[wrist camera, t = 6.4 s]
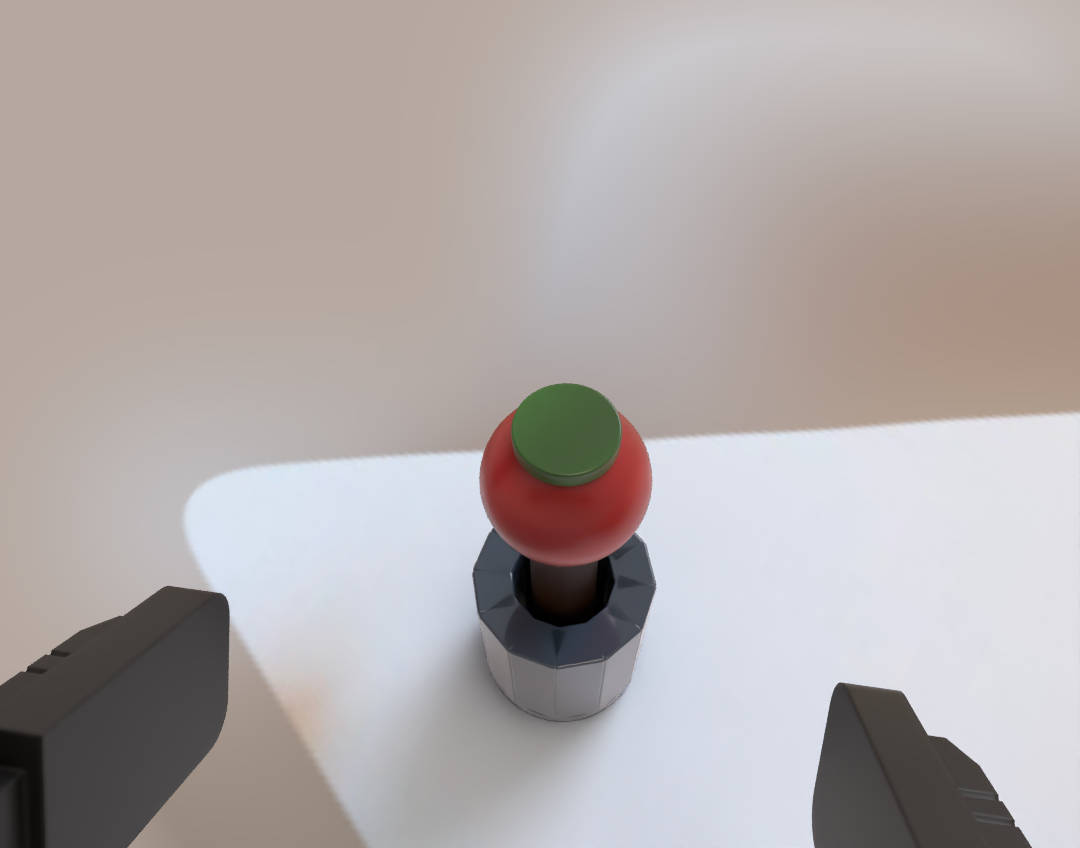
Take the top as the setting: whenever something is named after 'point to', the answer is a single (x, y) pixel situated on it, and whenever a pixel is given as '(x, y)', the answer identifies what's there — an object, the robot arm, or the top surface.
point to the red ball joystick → (565, 492)
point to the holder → (562, 632)
